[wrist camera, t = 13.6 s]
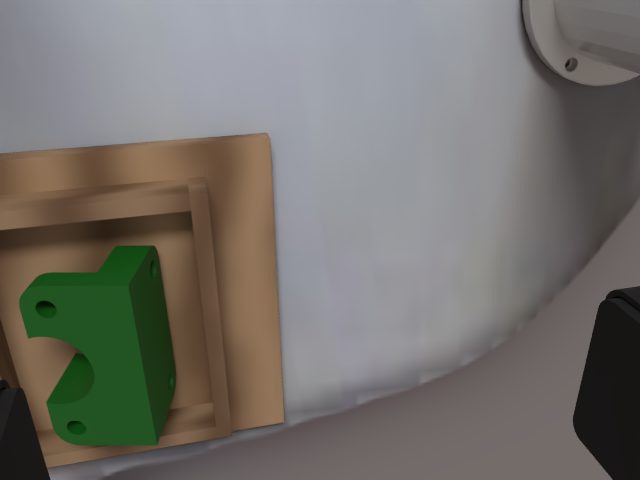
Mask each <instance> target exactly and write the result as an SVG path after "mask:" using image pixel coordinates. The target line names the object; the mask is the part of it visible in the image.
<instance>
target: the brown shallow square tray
mask: <svg viewBox="0 0 640 480" xmlns="http://www.w3.org/2000/svg"><path fill="white" fill-rule="evenodd" d="M139 245H154V246H155V247H156V249H157V251H158V255H159V261H160V267H161V274H162V281H163V287H164V294H165V301H166V307H167V314H168V321H169V327H170V334H171V341H172V347H173V354H174V361H175V367H176V387H175V393H174V397H173V400H172V403H171V406H170V409H169V412H168V415H167V418H166V421H165V424H164V427H163V430H162V433H161V436H160V439H159V442H158V444H157V446H154V445H74V444H70V443H68V442H66V441H64V440H62V439H61V438H60V437H59V436H58V435H57V434H56V433H55V431H54V429H53V426H52V422H51V419H50V415H49V412H48V408H47V404H46V401H47V400H48V398H49V396H50V395H51V393H52V391H53V390H54V388H55V386H56V385H57V383H58V381H59V380H60V378H61V377H62V375H63V373H64V372H65V370H66V368H67V367H68V365H69V363H70V362H71V360H72V358H73V357H74V355H75V353H78V354H83V353H82V352H81V351H80V350H78V349H77V348H76V347H74V346H73V345H71V344H69V343H67V342H65V341H62V340H60V339H56V338H51V337H34V338H30V339H28V337H27V333H26V329H25V326H24V322H23V319H22V315H21V312H20V308H19V299H20V297H21V295H22V293H23V292H24V291H25V290H26V289H27V287H28V286H29V285H30V284H31V283H32V282H33V280H34V279H35V278H36V277H38V276H39V275H41V274H44V273H51V272H98V271H99V269H100V268H101V266H102V265H103V263H104V262H105V260H106V259H107V257H108V256H109V255H110V253H111V252H112V250H113V249H114V247H115V246H139ZM1 379H4V380H6V381H7V382H8V383H9V385H10V388H17V387H21V388H22V389H23V390H24V392H25V395H26V398H27V402H28V405H29V409H30V412H31V415H32V419H33V422H34V426H35V429H36V432H37V436H38V439H39V443H40V446H41V450H42V453H43V456H44V460H45V463H46V467H47V468H49V467H55V466H61V465H67V464H72V463H78V462H84V461H89V460H95V459H101V458H107V457H112V456H118V455H124V454H129V453H135V452H141V451H146V450H152V449H158V448H164V447H169V446H175V445H181V444H186V443H192V442H198V441H204V440H209V439H215V438H221V437H226V436H232V431H237V430H242V429H248V428H254V427H260V426H265V425H271V424H277V423H283V422H284V411H283V390H282V370H281V350H280V329H279V309H278V288H277V268H276V248H275V227H274V207H273V186H272V166H271V146H270V138H269V136H268V134H267V133H261V134H248V135H235V136H222V137H209V138H197V139H184V140H171V141H158V142H145V143H132V144H119V145H106V146H94V147H81V148H68V149H55V150H42V151H29V152H16V153H3V154H0V380H1Z"/></svg>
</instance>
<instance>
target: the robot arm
mask: <svg viewBox="0 0 640 480" xmlns="http://www.w3.org/2000/svg"><path fill="white" fill-rule="evenodd" d="M523 16H524V22H525V28H526V31H527V34H528V36H529V39H530V42H531V44H532V47H533V48H534V50H535V51H536V53H537V54H538V56H539V58H540V59H541V60H542V61H543V62H544V63H545V64H546V65H547V66H548V67H549V68H550V69H551V70H552V71H553V72H555V73H557V74H558V75H560V76H562V77H564V78H565V79H568V80H571V81H574V82H577V83H579V84H584V85H590V86H610V85H615V84H619V83H622V82H626V81H629V80H631V79H633V78H635V77H638V76H640V0H523ZM573 426H574V429H575V432H576V434H577V436H578V438H579V439H580V441H581V442H582V443H583V444H584V445H585V447H586V448H587V449H588V450H589V451H590V453H591V454H592V455H593V456H594V457H595V459H596V460H597V461H598V462H599V463H600V465H601V466H602V467H603V468H604V469H605V470H606V472H607V473H608V474H609V475H610V477H611V478H612V479H613V480H640V286H639V287H632V288H625V289H618V290H613V291H611V292H610V293H609V294H608V295H607V296H606V299H605V300H604V301H602V302H601V303H600V305H599V308H598V312H597V316H596V320H595V325H594V329H593V333H592V338H591V342H590V347H589V351H588V355H587V359H586V364H585V368H584V372H583V377H582V381H581V385H580V390H579V394H578V398H577V403H576V407H575V411H574V415H573ZM0 480H50V477H49V473H48V470H47V467H46V463H45V460H44V456H43V453H42V450H41V446H40V443H39V439H38V436H37V432H36V429H35V426H34V422H33V419H32V415H31V412H30V409H29V405H28V402H27V398H26V395H25V392H24V390H23V389H22V388H21V387H17V388H10V385H9V383H8V382H7V381H6V380H4V379H1V380H0Z"/></svg>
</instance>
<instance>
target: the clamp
mask: <svg viewBox="0 0 640 480" xmlns="http://www.w3.org/2000/svg"><path fill="white" fill-rule="evenodd" d="M19 308H20V312H21V315H22V319H23V322H24V326H25V329H26V333H27V337H28V339H30V338H34V337H51V338H56V339H60V340H62V341H65V342H67V343H69V344H71V345H73V346H74V347H76V348H77V349H78V350H80V351H81V352H82V353H83V354H78V353H75V355H74V357H73V358H72V360H71V362H70V363H69V365H68V367H67V368H66V370H65V372H64V373H63V375H62V377H61V378H60V380H59V381H58V383H57V385H56V386H55V388H54V390H53V391H52V393H51V395H50V396H49V398H48V400H47V401H46V404H47V408H48V412H49V415H50V419H51V422H52V426H53V429H54V431H55V433H56V434H57V435H58V436H59V437H60V438H61V439H62V440H64V441H66V442H68V443H70V444H74V445H154V446H157V444H158V442H159V439H160V436H161V433H162V430H163V427H164V424H165V421H166V418H167V415H168V412H169V409H170V406H171V403H172V400H173V397H174V393H175V387H176V367H175V361H174V354H173V347H172V341H171V334H170V327H169V321H168V314H167V307H166V301H165V294H164V287H163V281H162V274H161V267H160V261H159V255H158V251H157V249H156V247H155V246H154V245H139V246H115V247H114V249H113V250H112V252H111V253H110V255H109V256H108V257H107V259H106V260H105V262H104V263H103V265H102V266H101V268H100V269H99V271H98V272H51V273H44V274H41V275H39V276H38V277H36V278H35V279H34V280H33V282H32V283H31V284H30V285H29V286H28V287H27V289H26V290H25V291H24V292H23V293H22V295H21V297H20V299H19Z"/></svg>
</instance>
